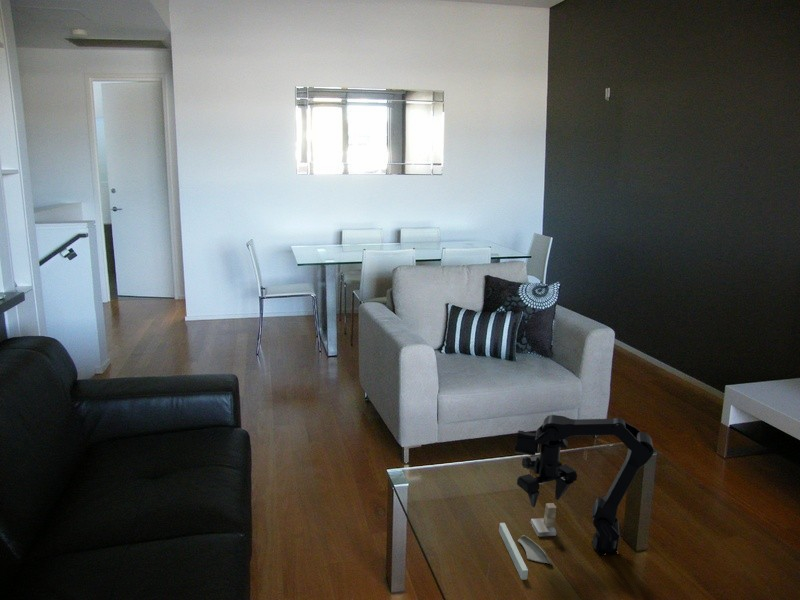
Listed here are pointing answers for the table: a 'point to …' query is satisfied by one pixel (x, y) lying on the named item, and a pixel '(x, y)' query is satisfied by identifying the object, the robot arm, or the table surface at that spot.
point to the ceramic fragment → (533, 550)
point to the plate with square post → (546, 522)
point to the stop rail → (513, 551)
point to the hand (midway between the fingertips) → (544, 503)
